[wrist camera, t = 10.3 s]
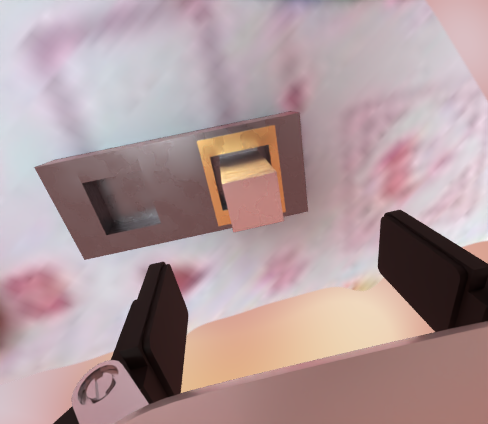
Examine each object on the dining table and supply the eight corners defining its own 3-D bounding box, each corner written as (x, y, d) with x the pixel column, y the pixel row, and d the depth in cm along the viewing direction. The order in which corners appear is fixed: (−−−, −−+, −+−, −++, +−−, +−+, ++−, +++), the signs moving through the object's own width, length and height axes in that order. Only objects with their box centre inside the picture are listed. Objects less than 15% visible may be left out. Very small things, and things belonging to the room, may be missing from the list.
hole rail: (53, 160, 25) (32, 167, 22) (290, 111, 26) (300, 112, 23) (96, 244, 29) (83, 260, 26) (299, 201, 30) (308, 212, 27)
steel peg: (219, 157, 26) (221, 184, 18) (256, 149, 26) (276, 171, 18) (227, 193, 28) (233, 232, 20) (263, 185, 28) (283, 221, 20)
